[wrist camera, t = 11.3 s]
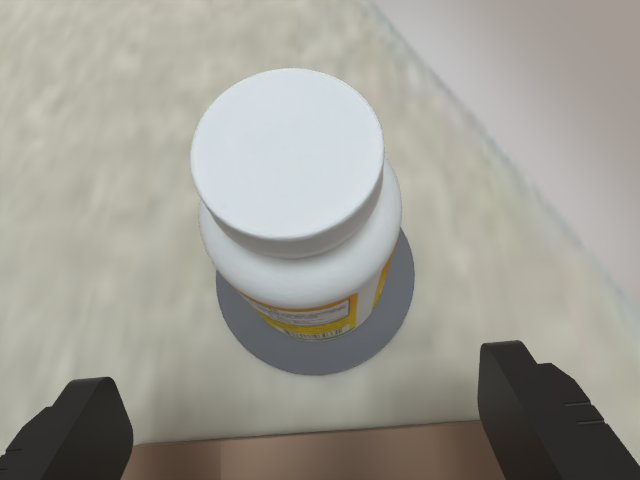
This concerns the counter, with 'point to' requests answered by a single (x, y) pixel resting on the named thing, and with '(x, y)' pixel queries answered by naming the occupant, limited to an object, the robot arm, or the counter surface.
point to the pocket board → (326, 456)
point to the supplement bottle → (297, 200)
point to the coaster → (331, 352)
